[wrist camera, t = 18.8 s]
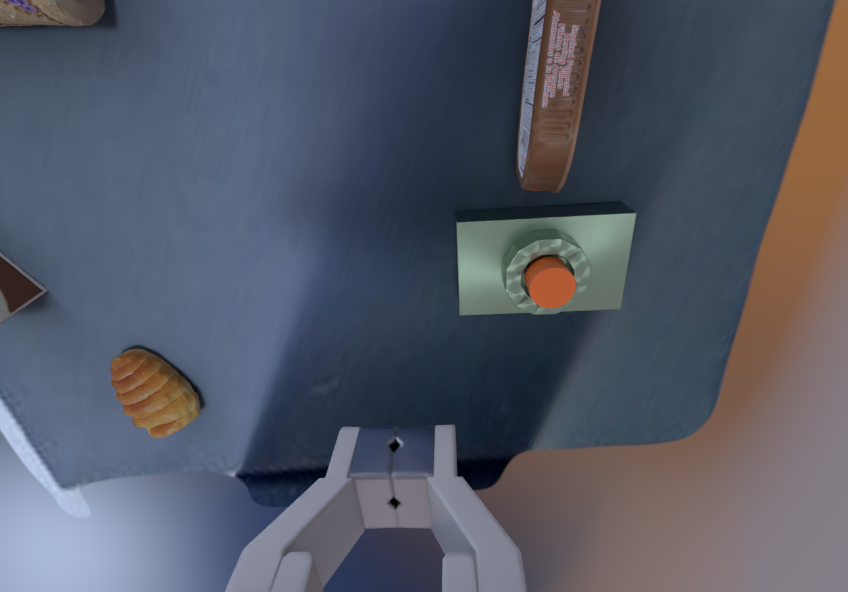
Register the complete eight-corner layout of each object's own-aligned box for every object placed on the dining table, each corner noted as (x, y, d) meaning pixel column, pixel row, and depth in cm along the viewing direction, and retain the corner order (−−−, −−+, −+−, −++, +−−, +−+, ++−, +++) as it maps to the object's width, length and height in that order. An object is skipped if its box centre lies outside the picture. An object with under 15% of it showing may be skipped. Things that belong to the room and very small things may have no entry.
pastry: (104, 356, 42) (75, 380, 39) (157, 336, 41) (132, 359, 37) (164, 422, 46) (141, 449, 42) (214, 405, 44) (195, 432, 41)
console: (455, 211, 34) (456, 231, 29) (621, 201, 33) (649, 220, 28) (458, 298, 37) (460, 328, 33) (607, 292, 36) (630, 322, 32)
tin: (545, 178, 32) (575, 208, 25) (504, 177, 32) (522, 206, 25) (583, -75, 25) (641, -139, 18) (530, -75, 25) (566, -140, 18)
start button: (525, 257, 30) (530, 268, 29) (570, 255, 30) (578, 266, 28) (523, 296, 32) (528, 309, 30) (566, 294, 32) (574, 307, 30)
